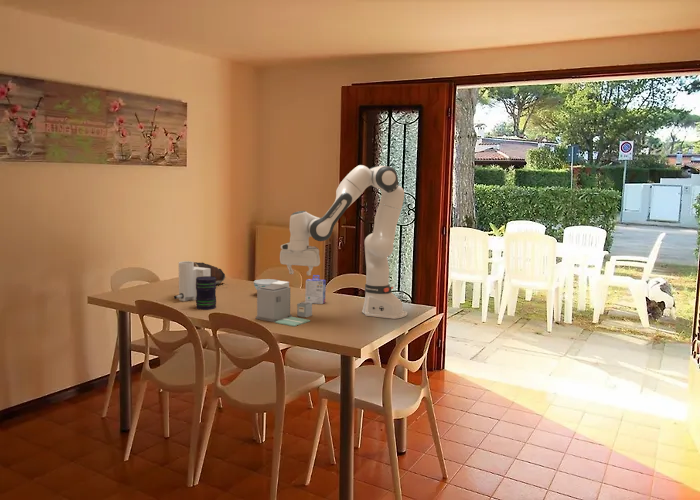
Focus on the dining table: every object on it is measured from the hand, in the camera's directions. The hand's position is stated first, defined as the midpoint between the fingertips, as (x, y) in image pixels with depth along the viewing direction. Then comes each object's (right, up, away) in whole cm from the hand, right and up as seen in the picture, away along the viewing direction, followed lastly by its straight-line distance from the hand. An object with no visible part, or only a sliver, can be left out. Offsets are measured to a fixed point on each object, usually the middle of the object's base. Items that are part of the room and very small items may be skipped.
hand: (300, 274), depth 282 cm
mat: (-3, -21, -10) cm, 24 cm away
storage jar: (-48, -17, +15) cm, 53 cm away
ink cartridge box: (+5, -16, +32) cm, 36 cm away
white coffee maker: (-62, -15, +32) cm, 71 cm away
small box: (-12, -18, +18) cm, 28 cm away
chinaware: (-22, -14, +48) cm, 55 cm away
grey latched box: (-12, -20, -3) cm, 24 cm away
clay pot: (-61, -10, +71) cm, 94 cm away
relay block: (+2, -20, +2) cm, 20 cm away
